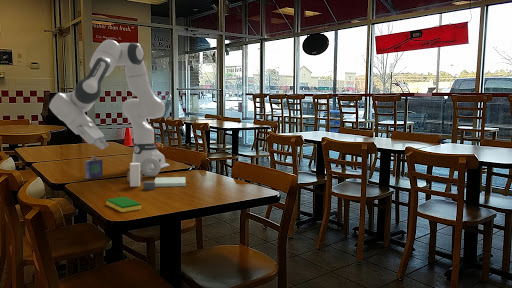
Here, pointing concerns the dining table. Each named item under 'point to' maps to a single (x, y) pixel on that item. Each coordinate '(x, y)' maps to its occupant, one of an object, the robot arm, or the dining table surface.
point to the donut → (146, 162)
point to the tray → (170, 181)
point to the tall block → (134, 174)
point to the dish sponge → (123, 204)
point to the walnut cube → (129, 176)
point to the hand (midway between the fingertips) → (105, 147)
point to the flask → (93, 168)
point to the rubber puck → (149, 185)
